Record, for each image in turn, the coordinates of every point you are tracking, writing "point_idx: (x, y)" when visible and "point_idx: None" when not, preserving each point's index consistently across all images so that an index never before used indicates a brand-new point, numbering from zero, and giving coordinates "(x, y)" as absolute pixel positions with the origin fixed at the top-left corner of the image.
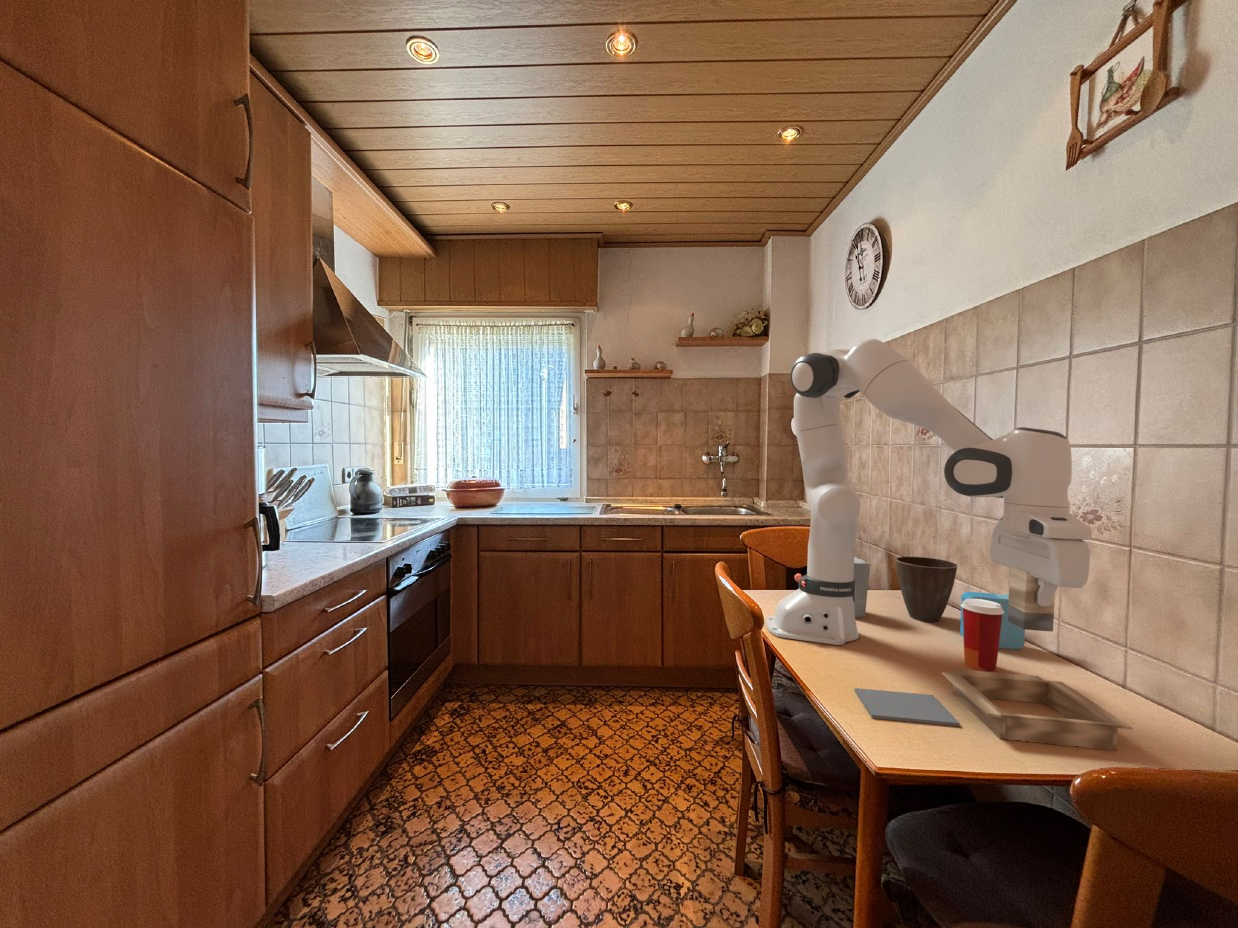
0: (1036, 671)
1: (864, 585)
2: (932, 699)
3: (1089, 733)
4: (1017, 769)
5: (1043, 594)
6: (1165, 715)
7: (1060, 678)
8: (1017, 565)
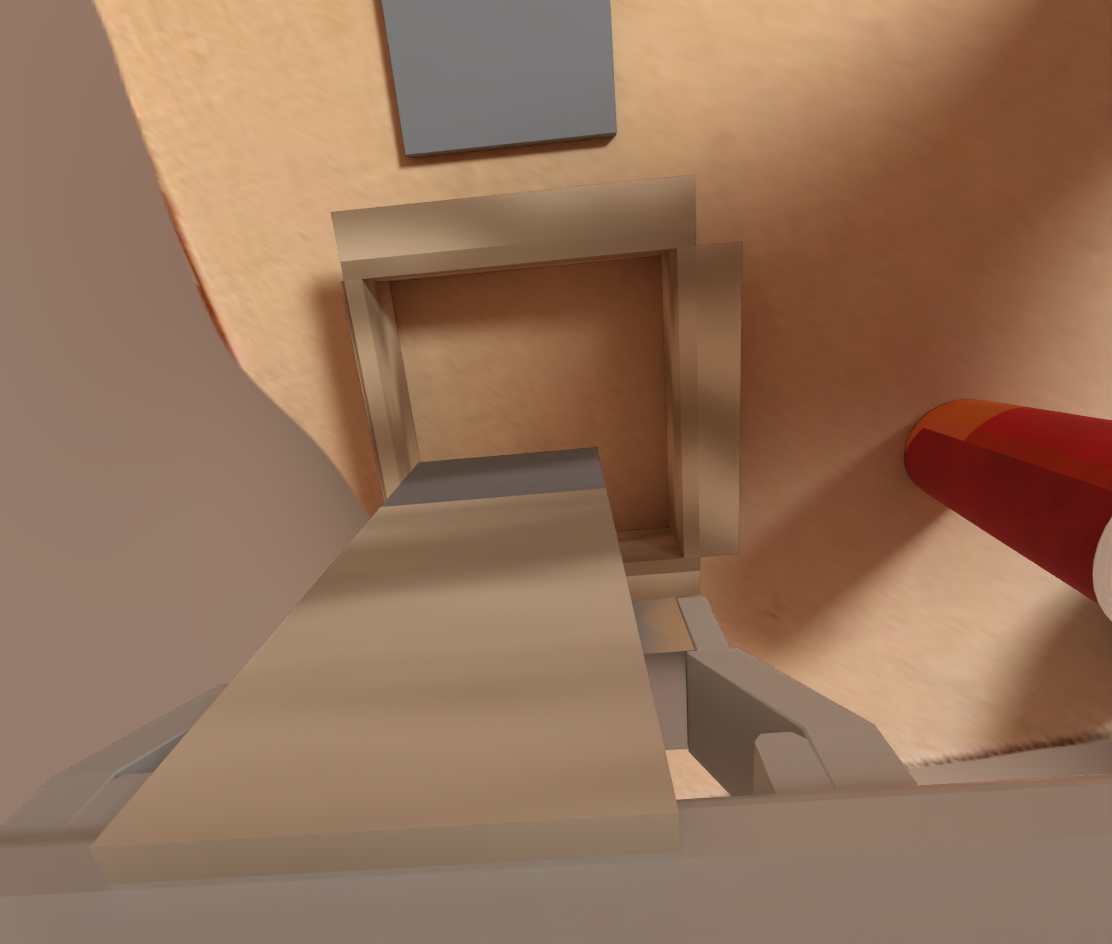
0: (922, 615)
1: None
2: (574, 114)
3: None
4: (201, 238)
5: None
6: None
7: (873, 657)
8: (503, 906)
